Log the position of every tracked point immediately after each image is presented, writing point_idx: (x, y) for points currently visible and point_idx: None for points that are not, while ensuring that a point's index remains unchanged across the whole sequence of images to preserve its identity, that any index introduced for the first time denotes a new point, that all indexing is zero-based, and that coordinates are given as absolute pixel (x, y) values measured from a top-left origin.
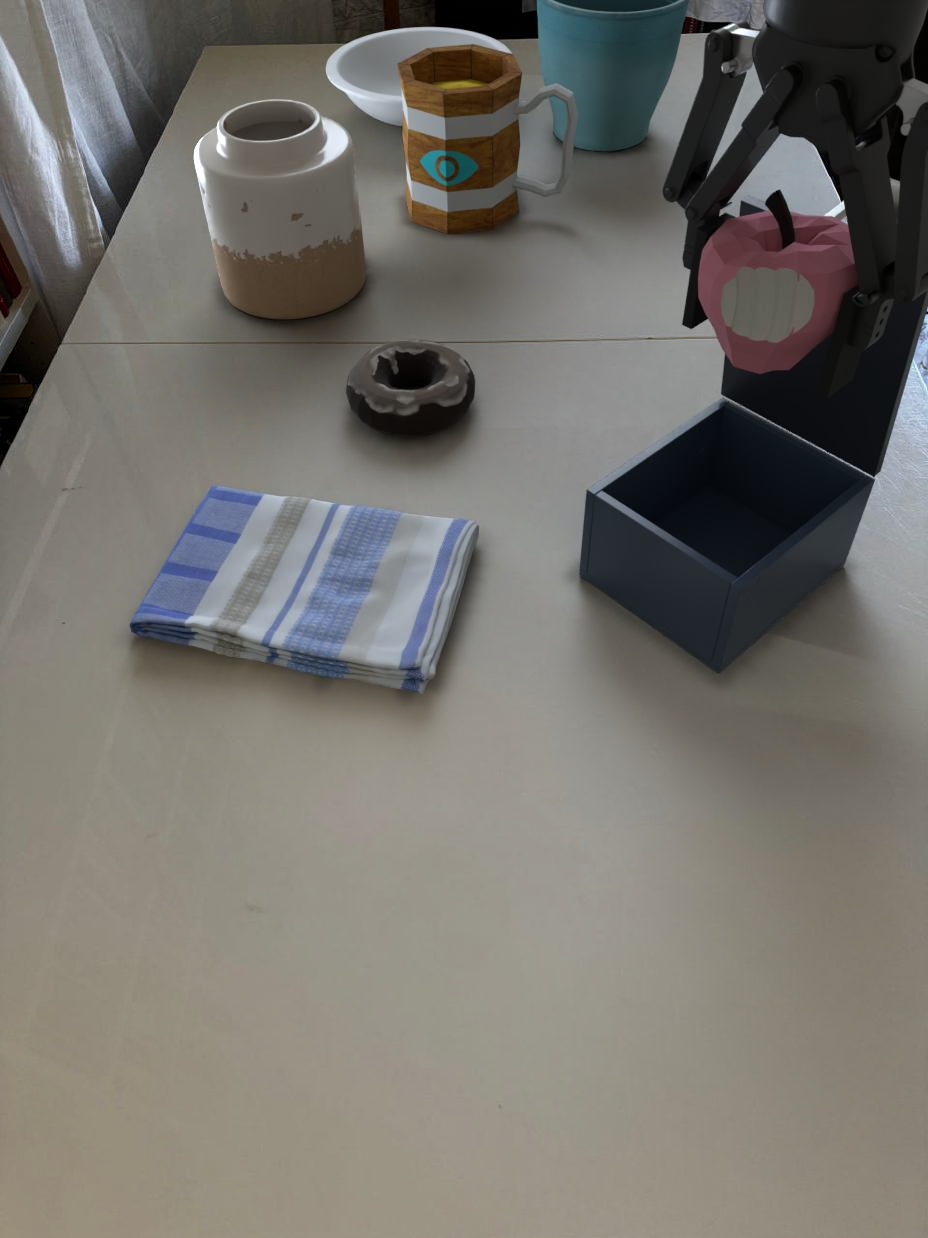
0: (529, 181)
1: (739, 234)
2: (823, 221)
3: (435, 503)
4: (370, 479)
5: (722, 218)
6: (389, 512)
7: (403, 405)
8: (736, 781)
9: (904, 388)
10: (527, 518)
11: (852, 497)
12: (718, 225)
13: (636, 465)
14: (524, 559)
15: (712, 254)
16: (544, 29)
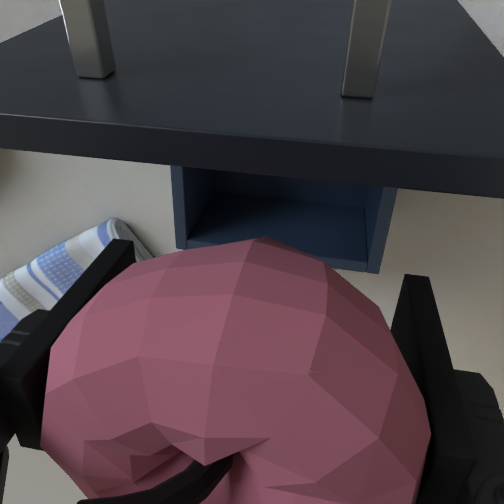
0: None
1: (110, 487)
2: (226, 441)
3: (63, 203)
4: (8, 215)
5: (12, 397)
6: (60, 255)
7: None
8: (434, 285)
9: (480, 29)
10: (125, 167)
11: None
12: (34, 424)
13: (183, 188)
14: (164, 208)
15: None
16: None
